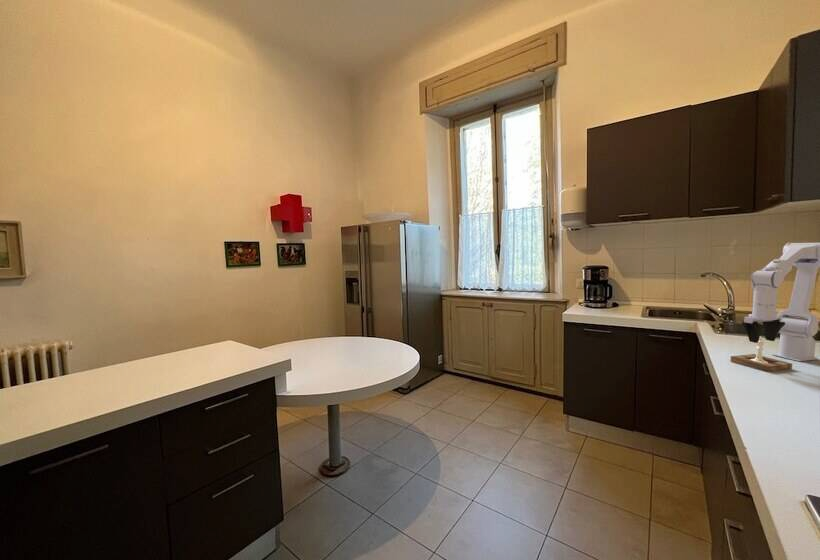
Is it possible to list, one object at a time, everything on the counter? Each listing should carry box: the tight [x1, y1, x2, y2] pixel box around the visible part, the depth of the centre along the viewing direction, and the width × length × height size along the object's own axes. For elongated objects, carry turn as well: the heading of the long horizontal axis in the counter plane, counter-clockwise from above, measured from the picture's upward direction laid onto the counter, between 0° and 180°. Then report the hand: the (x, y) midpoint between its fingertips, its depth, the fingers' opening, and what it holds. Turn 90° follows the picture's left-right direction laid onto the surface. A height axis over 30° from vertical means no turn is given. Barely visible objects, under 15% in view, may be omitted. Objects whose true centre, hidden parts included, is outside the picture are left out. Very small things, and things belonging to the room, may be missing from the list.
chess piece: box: [750, 335, 768, 364], centre depth 117 cm, size 5×5×10 cm
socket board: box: [730, 353, 793, 373], centre depth 117 cm, size 11×11×2 cm
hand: (761, 341), depth 117 cm, fingers open, 7 cm apart
